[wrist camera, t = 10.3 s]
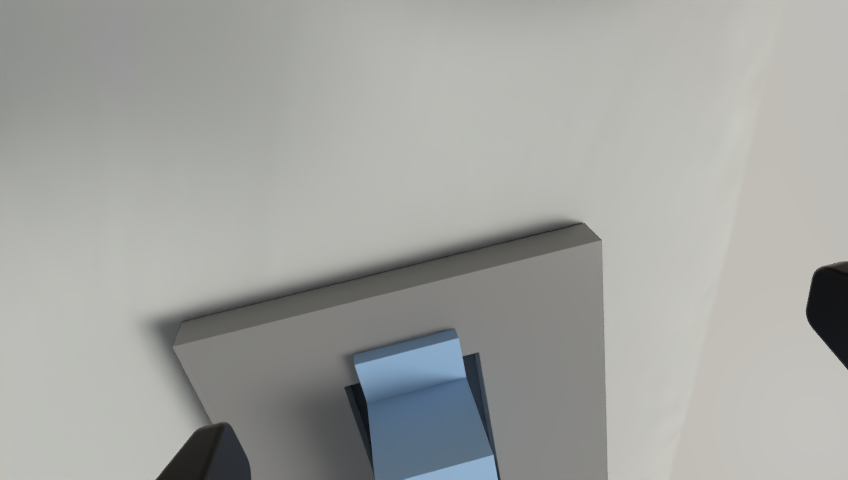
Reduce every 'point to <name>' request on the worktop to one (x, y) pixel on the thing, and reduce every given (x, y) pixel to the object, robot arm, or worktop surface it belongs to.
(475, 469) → the servo
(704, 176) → the worktop surface
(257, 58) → the worktop surface
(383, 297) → the chassis
